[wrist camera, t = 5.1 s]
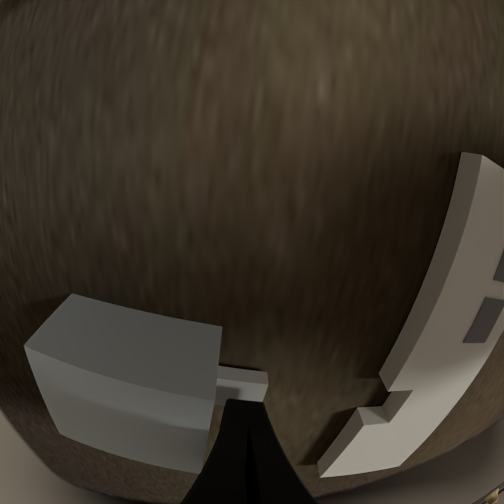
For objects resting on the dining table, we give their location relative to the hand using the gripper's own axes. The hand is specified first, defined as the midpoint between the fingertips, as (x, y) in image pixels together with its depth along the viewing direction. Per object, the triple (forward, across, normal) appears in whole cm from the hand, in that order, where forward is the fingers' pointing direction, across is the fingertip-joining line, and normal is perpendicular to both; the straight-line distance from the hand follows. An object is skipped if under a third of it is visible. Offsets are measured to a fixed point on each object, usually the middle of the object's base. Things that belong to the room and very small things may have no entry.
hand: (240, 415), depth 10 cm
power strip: (+2, -9, -2) cm, 9 cm away
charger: (+2, +4, 0) cm, 5 cm away
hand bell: (+2, -114, +78) cm, 138 cm away
